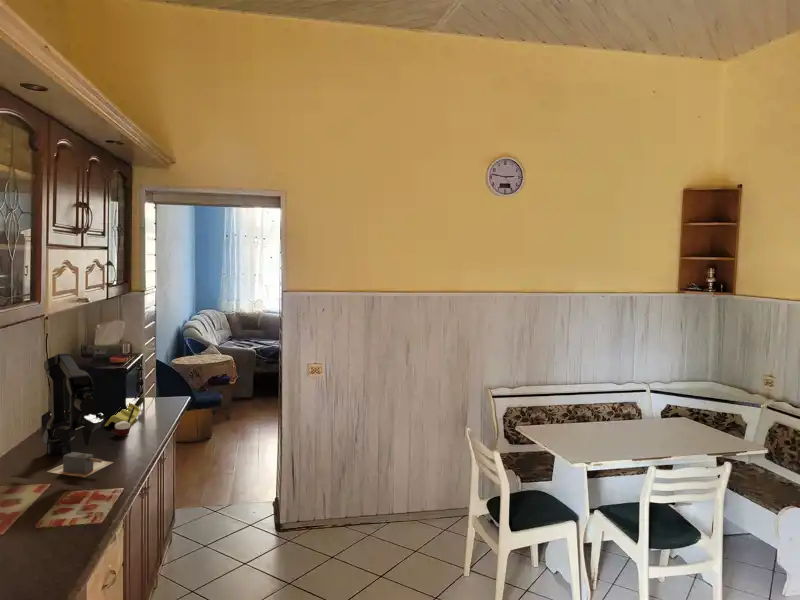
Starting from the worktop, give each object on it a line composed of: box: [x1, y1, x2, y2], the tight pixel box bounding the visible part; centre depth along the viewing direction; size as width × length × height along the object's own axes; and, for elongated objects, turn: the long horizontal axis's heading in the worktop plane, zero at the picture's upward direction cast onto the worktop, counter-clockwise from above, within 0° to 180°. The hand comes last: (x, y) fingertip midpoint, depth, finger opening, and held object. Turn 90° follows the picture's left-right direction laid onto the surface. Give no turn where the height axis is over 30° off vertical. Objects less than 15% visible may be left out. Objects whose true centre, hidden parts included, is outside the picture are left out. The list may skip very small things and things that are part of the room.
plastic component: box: [104, 402, 141, 427], centre depth 295 cm, size 20×7×10 cm
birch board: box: [46, 460, 114, 478], centre depth 232 cm, size 16×16×2 cm
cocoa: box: [111, 407, 135, 437], centre depth 274 cm, size 10×6×12 cm, turn 109°
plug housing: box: [62, 451, 103, 475], centre depth 226 cm, size 14×4×6 cm, turn 79°
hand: (78, 449), depth 226 cm, fingers open, 9 cm apart
